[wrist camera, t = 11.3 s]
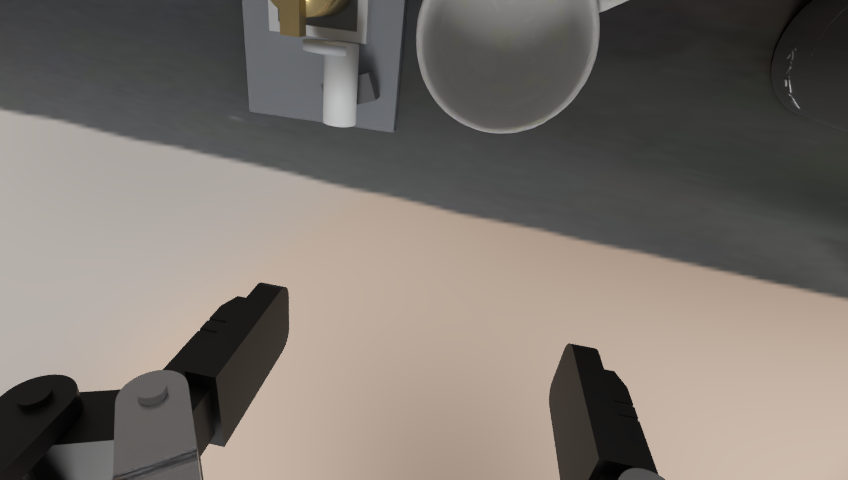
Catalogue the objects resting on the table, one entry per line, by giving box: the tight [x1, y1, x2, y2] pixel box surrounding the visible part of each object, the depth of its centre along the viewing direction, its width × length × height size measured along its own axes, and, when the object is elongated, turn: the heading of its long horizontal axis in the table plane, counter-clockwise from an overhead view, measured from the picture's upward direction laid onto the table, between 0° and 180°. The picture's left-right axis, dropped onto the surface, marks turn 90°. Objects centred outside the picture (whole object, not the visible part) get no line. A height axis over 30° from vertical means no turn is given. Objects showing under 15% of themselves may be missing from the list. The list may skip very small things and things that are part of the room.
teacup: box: [416, 0, 628, 134], centre depth 29 cm, size 14×11×8 cm
